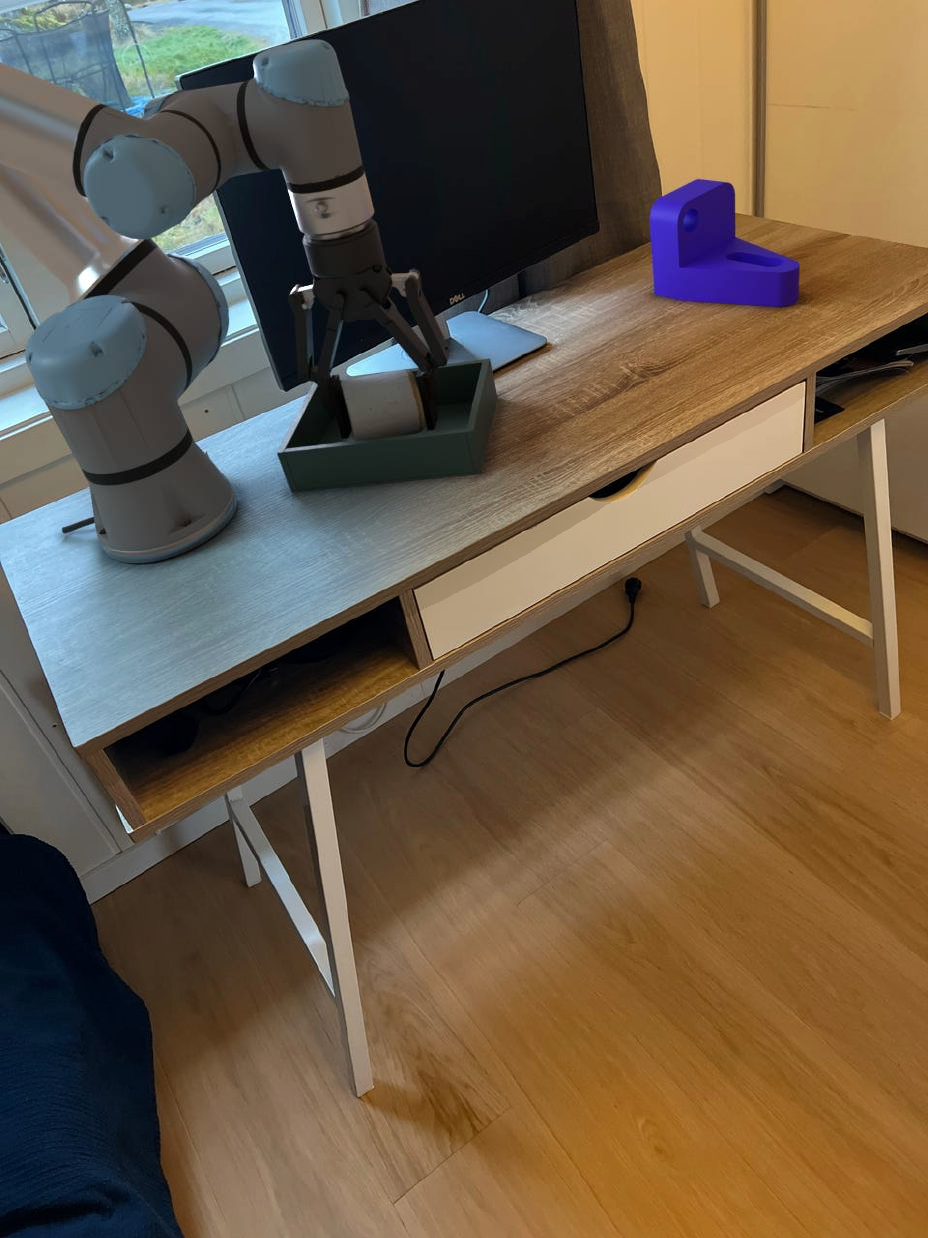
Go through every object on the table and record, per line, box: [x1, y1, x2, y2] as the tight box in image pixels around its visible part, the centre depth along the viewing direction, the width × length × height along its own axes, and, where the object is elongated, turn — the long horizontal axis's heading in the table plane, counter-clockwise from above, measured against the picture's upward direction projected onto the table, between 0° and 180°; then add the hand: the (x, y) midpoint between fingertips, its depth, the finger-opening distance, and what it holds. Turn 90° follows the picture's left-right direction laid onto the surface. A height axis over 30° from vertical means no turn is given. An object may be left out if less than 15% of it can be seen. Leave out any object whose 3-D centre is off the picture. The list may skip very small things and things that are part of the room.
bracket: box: [649, 178, 801, 308], centre depth 116 cm, size 18×11×12 cm, turn 38°
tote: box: [276, 357, 498, 493], centre depth 105 cm, size 22×17×5 cm
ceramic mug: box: [341, 369, 425, 441], centre depth 103 cm, size 11×8×8 cm
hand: (389, 428), depth 105 cm, fingers closed on ceramic mug, 9 cm apart
